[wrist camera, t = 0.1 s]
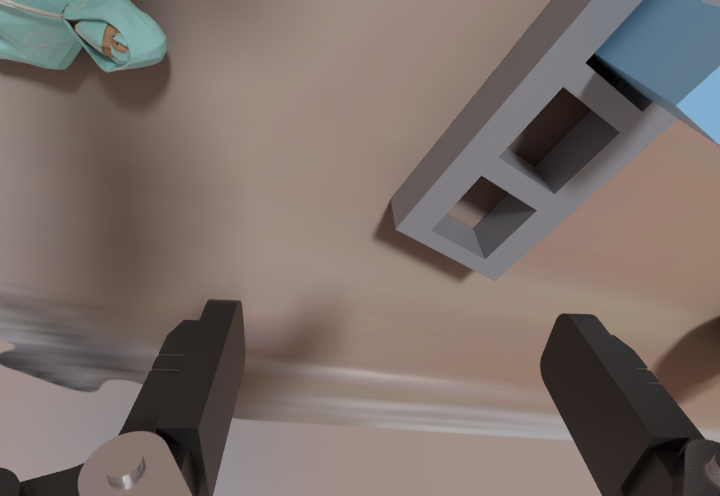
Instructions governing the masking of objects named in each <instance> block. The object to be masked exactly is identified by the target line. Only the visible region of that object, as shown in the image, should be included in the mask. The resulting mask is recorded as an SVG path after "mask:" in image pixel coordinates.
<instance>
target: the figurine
mask: <svg viewBox="0 0 720 496" xmlns="http://www.w3.org/2000/svg"><path fill="white" fill-rule="evenodd" d="M82 47H84V48H85V49H86V51H87V52H88V53H89V54H90V56H91V57H92V58H93V60H94V61H95V62H96V63H97V65H98V66H99V67H100V68H101V69H102V70H103V71H105V72H113V71H116V70H125V69H134V68H141V67H145V66H150V65H154V64H156V63H158V62H161V60H162V59H163V57H164V55H165V53H166V51H167V41H166V35H165V34H164V33H163V31H162V30H161V28H160V27H159V25H158V24H157V23H156V22H155V21H154V20H153V19H152V18H151V17H150V16H149V15H148V14H146V13H144V12H143V11H141V10H139V9H138V8H137V7H136V6H135V5H134V4H133V3H132V2H131V1H130V0H0V59H7V60H12V61H18V62H23V63H28V64H31V65H35V66H38V67H42V68H46V69H56V70H57V69H67V68H68V66H69V65H70V64H71V63H72V62H73V61H74V59H75V58H76V56H77V55H78V53H79V52H80V50H81V49H82Z"/></svg>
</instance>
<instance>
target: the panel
mask: <svg viewBox="0 0 720 496" xmlns="http://www.w3.org/2000/svg"><path fill="white" fill-rule="evenodd" d="M642 1H643V0H551V1H550V3H549V4H548V5H547V6H546V8H545V9H544V10H543V11H542V13H541V14H540V15H539V16H538V18H537V19H536V20H535V21H534V23H533V24H532V25H531V26H530V28H529V29H528V30H527V31H526V32H525V34H524V35H523V36H522V37H521V39H520V40H519V41H518V42H517V44H516V45H515V46H514V47H513V49H512V50H511V51H510V52H509V54H508V55H507V56H506V57H505V58H504V60H503V61H502V62H501V63H500V65H499V66H498V67H497V68H496V70H495V71H494V72H493V73H492V75H491V76H490V77H489V78H488V80H487V81H486V82H485V83H484V84H483V86H482V87H481V88H480V89H479V91H478V92H477V93H476V94H475V96H474V97H473V98H472V99H471V101H470V102H469V103H468V104H467V106H466V107H465V108H464V109H463V110H462V112H461V113H460V114H459V115H458V117H457V118H456V119H455V120H454V122H453V123H452V124H451V125H450V127H449V128H448V129H447V130H446V132H445V133H444V134H443V135H442V137H441V138H440V139H439V140H438V141H437V143H436V144H435V145H434V146H433V148H432V149H431V150H430V151H429V153H428V154H427V155H426V156H425V158H424V159H423V160H422V161H421V163H420V164H419V165H418V166H417V167H416V169H415V170H414V171H413V172H412V174H411V175H410V176H409V177H408V179H407V180H406V181H405V182H404V184H403V185H402V186H401V187H400V189H399V190H398V191H397V192H396V193H395V195H394V196H393V197H392V198H391V205H392V212H393V218H394V224H395V229H396V230H397V231H399V232H401V233H403V234H405V235H407V236H409V237H411V238H413V239H415V240H417V241H419V242H421V243H422V244H424V245H426V246H428V247H430V248H432V249H434V250H436V251H438V252H440V253H442V254H444V255H446V256H447V257H449V258H451V259H453V260H455V261H457V262H459V263H461V264H463V265H465V266H467V267H469V268H471V269H472V270H474V271H476V272H478V273H480V274H482V275H484V276H486V277H488V278H490V279H492V280H494V281H495V280H496V279H498V278H499V277H500V276H501V275H502V274H503V273H504V272H505V271H507V270H508V269H509V268H510V267H511V266H512V265H513V264H514V263H516V262H517V261H518V260H519V259H520V258H521V257H522V256H524V255H525V254H526V253H527V252H528V251H529V250H530V249H531V248H533V247H534V246H535V245H536V244H537V243H538V242H539V241H540V240H542V239H543V238H544V237H545V236H546V235H547V234H548V233H549V232H551V231H552V230H553V229H554V228H555V227H556V226H557V225H559V224H560V223H561V222H562V221H563V220H564V219H565V218H566V217H568V216H569V215H570V214H571V213H572V212H573V211H574V210H575V209H577V208H578V207H579V206H580V205H581V204H582V203H583V202H584V201H586V200H587V199H588V198H589V197H590V196H591V195H592V194H593V193H595V192H596V191H597V190H598V189H599V188H600V187H601V186H603V185H604V184H605V183H606V182H607V181H608V180H609V179H610V178H612V177H613V176H614V175H615V174H616V173H617V172H618V171H619V170H621V169H622V168H623V167H624V166H625V165H626V164H627V163H628V162H630V161H631V160H632V159H633V158H634V157H635V156H636V155H637V154H639V153H640V152H641V151H642V150H643V149H644V148H645V147H647V146H648V145H649V144H650V143H651V142H652V141H653V140H654V139H656V138H657V137H658V136H659V135H660V134H661V133H662V132H663V131H665V130H666V129H667V128H668V127H669V126H670V125H671V124H672V123H674V122H675V121H676V120H677V119H678V118H677V117H675V116H674V115H672V114H671V113H669V112H668V111H666V110H665V109H663V108H662V107H660V106H659V105H657V104H656V103H654V102H653V101H652V100H650V99H649V98H647V97H646V96H644V95H643V94H641V93H640V92H638V91H637V90H635V89H634V88H632V87H631V86H629V85H628V84H626V83H625V82H623V81H622V80H620V81H619V82H618V83H617V84H616V85H615V86H614V87H613V86H611V85H610V84H609V83H608V82H607V81H606V80H604V79H603V78H602V77H601V76H600V75H599V74H598V73H596V72H595V71H594V70H593V69H592V68H591V67H589V66H588V65H587V64H586V61H587V60H588V59H589V58H590V57H591V56H592V55H593V54H594V53H595V52H596V51H597V49H598V48H599V47H600V46H601V45H602V44H603V43H604V42H605V41H606V40H607V39H608V38H609V36H610V35H611V34H612V33H613V32H614V31H615V30H616V29H617V28H618V27H619V26H620V24H621V23H622V22H623V21H624V20H625V19H626V18H627V17H628V16H629V15H630V14H631V13H632V11H633V10H634V9H635V8H636V7H637V6H638V5H639V4H640V3H641V2H642ZM698 1H701V2H704V3H707V4H711V5H714V6H717V7H720V0H698ZM563 87H564V88H565V89H567V90H568V91H569V92H570V93H572V94H573V95H574V96H575V97H576V98H578V99H579V100H580V101H581V102H583V103H584V104H585V105H586V106H588V107H589V108H590V109H591V110H590V111H589V112H588V113H587V114H586V115H585V116H584V117H583V118H582V119H581V120H580V121H579V122H578V123H577V124H576V125H575V126H574V127H573V128H572V129H571V130H570V131H569V133H568V134H567V135H566V136H565V137H564V138H563V139H562V140H561V141H560V142H559V143H558V144H557V145H556V146H555V147H554V148H553V149H552V150H551V151H550V152H549V153H548V154H547V155H546V156H545V157H544V158H543V159H542V160H541V161H540V162H539V163H538V164H537V165H536V166H533V165H532V164H530V163H529V162H527V161H526V160H524V159H523V158H522V157H520V156H519V155H517V154H516V153H514V152H513V151H511V150H510V149H508V148H507V147H508V146H509V145H510V144H511V143H512V142H513V141H514V140H515V139H516V138H517V136H518V135H519V134H520V133H521V132H522V131H523V130H524V129H525V128H526V127H527V126H528V124H529V123H530V122H531V121H532V120H533V119H534V118H535V117H536V116H537V115H538V114H539V113H540V111H541V110H542V109H543V108H544V107H545V106H546V105H547V104H548V103H549V102H550V101H551V99H552V98H553V97H554V96H555V95H556V94H557V93H558V92H559V91H560V90H561V89H562V88H563ZM481 176H483V177H485V178H486V179H488V180H489V181H491V182H492V183H494V184H496V185H497V186H499V187H500V188H502V189H504V190H505V191H507V192H508V194H507V195H506V196H505V197H504V198H503V199H502V200H501V201H500V202H499V203H498V204H497V205H496V206H495V207H494V208H493V209H492V210H491V211H490V212H489V213H488V214H487V215H486V216H485V217H484V218H483V219H482V220H481V221H480V222H479V223H478V224H477V225H476V226H475V227H474V228H473V229H472V228H471V227H469V226H467V225H465V224H464V223H462V222H460V221H458V220H456V219H455V218H453V217H451V216H449V215H448V214H447V213H448V211H449V210H450V209H451V208H452V207H453V206H454V205H455V204H456V203H457V202H458V201H459V199H460V198H461V197H462V196H463V195H464V194H465V193H466V192H467V191H468V190H469V189H470V188H471V186H472V185H473V184H474V183H475V182H476V181H477V180H478V179H479V178H480V177H481Z"/></svg>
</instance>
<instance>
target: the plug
mask: <svg viewBox="0 0 720 496" xmlns="http://www.w3.org/2000/svg"><path fill="white" fill-rule="evenodd" d="M592 56H593V57H594V58H595V59H596V60H597V61H598V62H599V63H601V64H602V65H603V66H604V67H605V68H606V69H607V70H609V71H610V72H611V73H612V74H613V75H615V76H616V77H618V78H619V79H620V80H622V81H623V82H625V83H626V84H628V85H629V86H631V87H632V88H634V89H635V90H637V91H638V92H640V93H641V94H643V95H644V96H646V97H647V98H649V99H650V100H652V101H653V102H654V103H656V104H657V105H659V106H660V107H662V108H663V109H665V110H666V111H668V112H669V113H671V114H672V115H674V116H675V117H677V118H678V119H680V120H681V121H683V122H684V123H686V124H687V125H689V126H690V127H691V128H693V129H694V130H696V131H697V132H699V133H700V134H702V135H703V136H705V137H706V138H708V139H709V140H711V141H712V142H714V143H715V144H717V145H718V146H720V7H717V6H714V5H711V4H707V3H704V2H701V1H698V0H643V1H642V2H641V3H640V4H639V5H638V6H637V7H636V8H635V9H634V10H633V11H632V13H631V14H630V15H629V16H628V17H627V18H626V19H625V20H624V21H623V22H622V23H621V24H620V26H619V27H618V28H617V29H616V30H615V31H614V32H613V33H612V34H611V35H610V36H609V38H608V39H607V40H606V41H605V42H604V43H603V44H602V45H601V46H600V47H599V48H598V49H597V51H596V52H595V53H594V54H593V55H592Z"/></svg>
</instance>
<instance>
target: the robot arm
mask: <svg viewBox="0 0 720 496" xmlns="http://www.w3.org/2000/svg"><path fill="white" fill-rule="evenodd" d="M244 362H245V338H244V324H243V311H242V303H241V301H238V300H211V299H210V300H208V301H207V303H206V306H205V308H204V310H203V313H202V315H201V318H200V320H199V321H197V320H184V321H183V322H181V323H180V324H179V325H178V326H177V327H176V328H175V329H174V330H173V331H171V332H170V333H169V334H168V335H167V337H166V339H165V341H164V343H163V346H162V348H161V350H160V352H159V356H157V358H156V360H155V362H154V364H153V366H152V371H150V372H149V374H148V376H147V378H146V380H145V383H144V385H143V387H142V389H141V391H140V393H139V395H138V397H137V399H136V401H135V403H134V405H133V407H132V409H131V412H130V413H129V415H128V418H127V420H126V422H125V424H124V426H123V428H122V430H121V431H120V433H119V435H118V436H117V437H115V438H112V439H111V440H109V441H107V442H106V443H104V444H103V445H101V446H100V447H99V448H98V449H96V451H94V452H93V453H92V454H91V456H90V457H89V458H88V459H87V461H86V462H85V463H83V464H81V465H78V466H76V467H73V468H71V469H67V470H64V471H60V472H56V473H52V474H49V475H45V476H41V477H38V478H34V479H30V480H27V481H23V482H19V480H18V478H17V476H16V475H15V474H14V473H13V472H12V471H9V470H7V469H4V468H0V496H213V493H214V488H215V484H216V480H217V476H218V472H219V468H220V464H221V460H222V456H223V452H224V448H225V444H226V440H227V435H228V431H229V427H230V423H231V419H232V415H233V411H234V407H235V403H236V399H237V395H238V391H239V387H240V383H241V378H242V374H243V369H244ZM540 370H541V376H542V379H543V381H544V384H545V385H546V387H547V389H548V391H549V393H550V395H551V397H552V399H553V401H554V403H555V405H556V407H557V409H558V411H559V413H560V415H561V417H562V418H563V420H564V422H565V424H566V426H567V428H568V430H569V432H570V434H571V436H572V438H573V440H574V442H575V444H576V446H577V447H578V449H579V451H580V453H581V455H582V457H583V459H584V461H585V463H586V465H587V467H588V469H589V471H590V473H591V475H592V477H593V479H594V481H595V483H596V484H597V486H598V488H599V490H600V492H601V494H602V496H720V443H719V442H716V441H713V440H707V439H705V438H704V437H703V436H702V434H701V433H700V432H699V431H698V429H697V428H696V427H695V426H694V424H693V423H692V422H691V421H690V419H689V418H688V417H687V416H686V414H685V413H684V412H683V411H682V410H681V408H680V407H679V406H678V405H677V403H676V402H675V401H674V400H673V398H672V397H671V396H670V395H669V393H668V392H667V391H666V390H665V388H664V387H663V386H662V385H659V381H658V380H657V378H656V377H655V376H654V375H653V374H652V372H651V371H648V370H647V366H646V365H645V364H644V362H643V361H642V360H641V359H640V357H639V356H638V355H637V354H636V352H635V351H634V350H633V349H631V348H630V347H629V346H628V345H626V344H625V343H624V342H622V341H621V340H620V339H618V338H617V337H616V336H614V335H610V334H609V332H608V331H607V330H606V328H605V327H604V326H603V325H602V323H601V322H600V321H599V319H598V318H597V317H596V316H594V315H591V314H565V313H563V314H561V315H559V316H558V318H557V319H556V322H555V324H554V327H553V329H552V332H551V334H550V337H549V339H548V342H547V344H546V347H545V349H544V352H543V354H542V357H541V362H540Z"/></svg>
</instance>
